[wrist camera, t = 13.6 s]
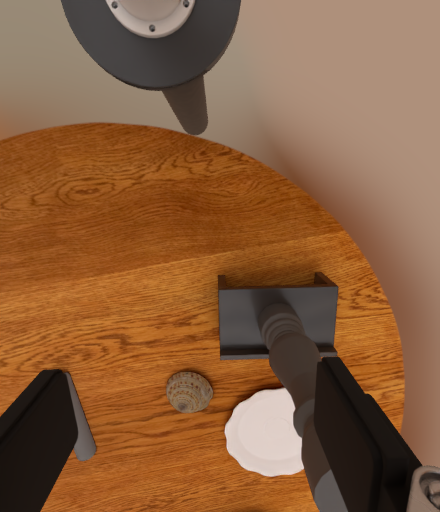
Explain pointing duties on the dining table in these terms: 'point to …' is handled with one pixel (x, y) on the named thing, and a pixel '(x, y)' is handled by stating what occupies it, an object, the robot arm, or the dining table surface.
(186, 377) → the seashell
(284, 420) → the plate
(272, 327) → the candle holder
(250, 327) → the block with raised lip
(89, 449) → the half round rod
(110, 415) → the dining table surface
